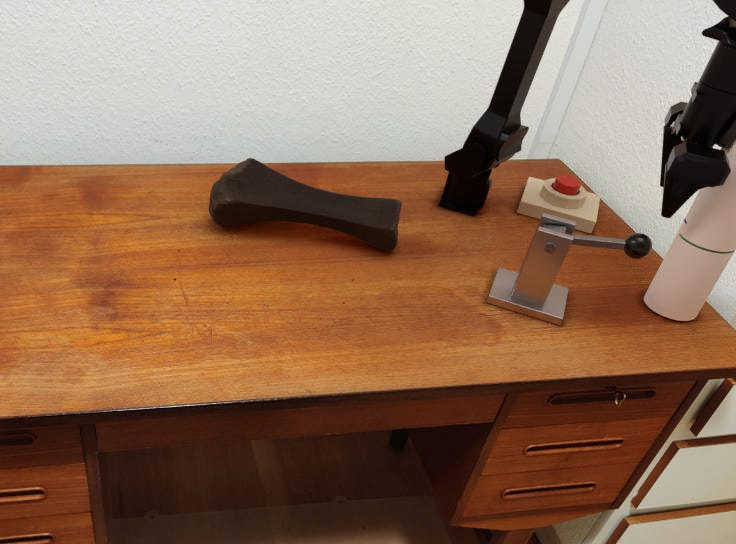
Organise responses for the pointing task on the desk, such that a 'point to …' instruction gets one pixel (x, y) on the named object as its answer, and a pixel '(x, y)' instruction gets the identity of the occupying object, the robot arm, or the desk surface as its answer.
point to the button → (566, 185)
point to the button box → (559, 203)
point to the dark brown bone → (300, 205)
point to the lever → (612, 242)
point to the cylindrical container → (697, 251)
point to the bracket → (537, 275)
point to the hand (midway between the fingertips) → (664, 201)
